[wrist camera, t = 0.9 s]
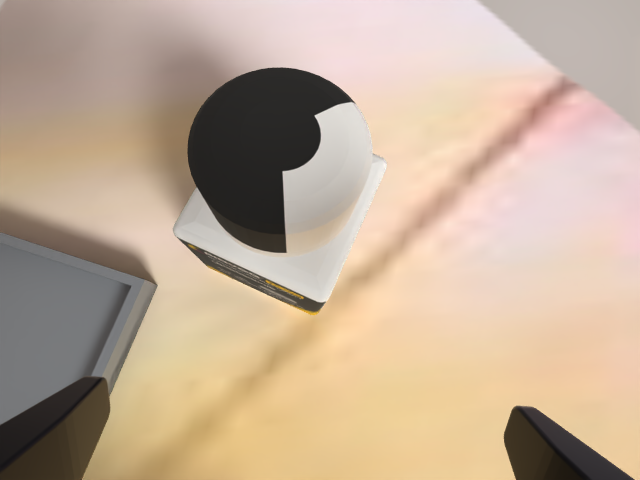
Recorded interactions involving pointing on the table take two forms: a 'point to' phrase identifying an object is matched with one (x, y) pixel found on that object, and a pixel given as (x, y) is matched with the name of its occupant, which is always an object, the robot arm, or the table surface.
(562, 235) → the table surface
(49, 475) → the robot arm
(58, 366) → the tray
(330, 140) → the medicine bottle
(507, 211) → the table surface
